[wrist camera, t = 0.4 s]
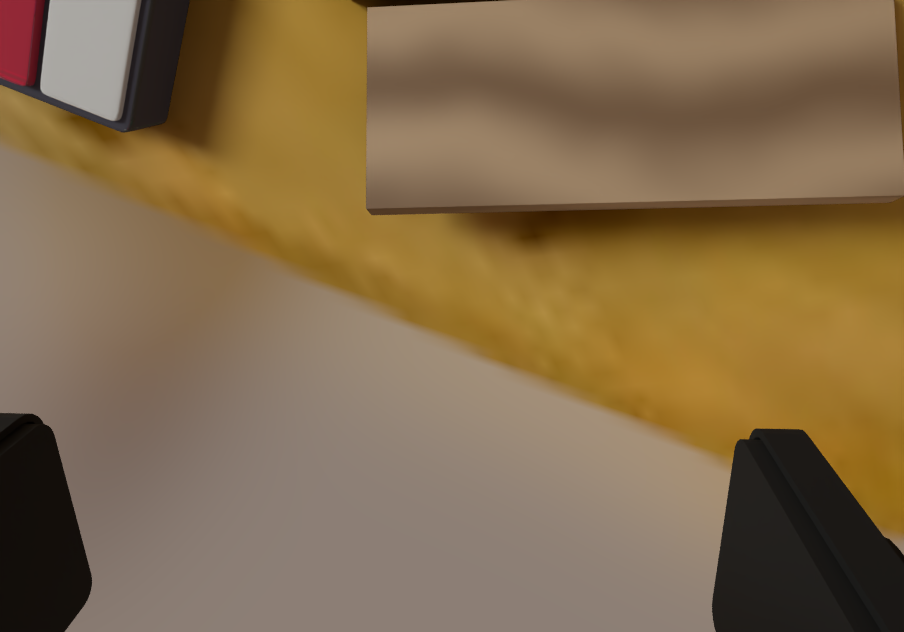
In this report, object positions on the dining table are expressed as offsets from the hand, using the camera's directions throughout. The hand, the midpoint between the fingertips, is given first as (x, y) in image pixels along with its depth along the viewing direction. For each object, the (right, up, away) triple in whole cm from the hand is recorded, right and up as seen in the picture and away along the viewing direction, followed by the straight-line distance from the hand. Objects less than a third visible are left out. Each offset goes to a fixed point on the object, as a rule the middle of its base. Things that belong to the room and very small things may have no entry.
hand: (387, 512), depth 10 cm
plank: (+8, +12, +21) cm, 26 cm away
